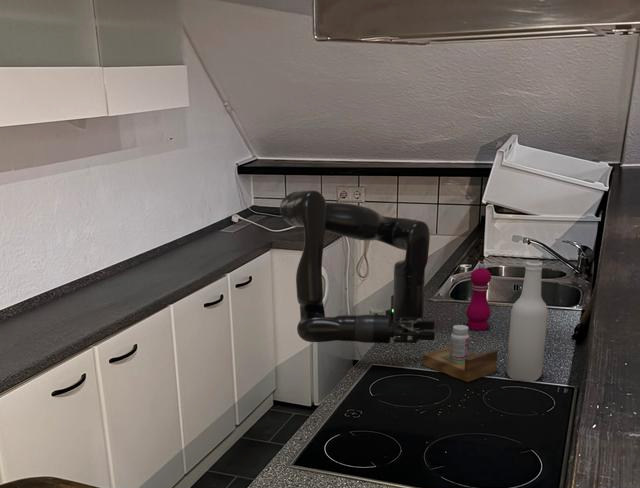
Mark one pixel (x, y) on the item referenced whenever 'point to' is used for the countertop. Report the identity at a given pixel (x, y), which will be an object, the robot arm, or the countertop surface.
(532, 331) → the alcohol
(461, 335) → the pill bottle
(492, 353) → the wooden box
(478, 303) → the pepper mill
